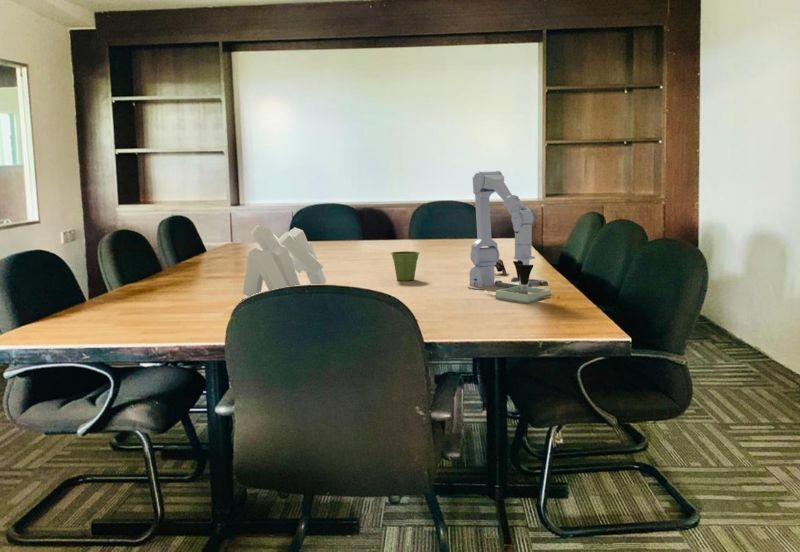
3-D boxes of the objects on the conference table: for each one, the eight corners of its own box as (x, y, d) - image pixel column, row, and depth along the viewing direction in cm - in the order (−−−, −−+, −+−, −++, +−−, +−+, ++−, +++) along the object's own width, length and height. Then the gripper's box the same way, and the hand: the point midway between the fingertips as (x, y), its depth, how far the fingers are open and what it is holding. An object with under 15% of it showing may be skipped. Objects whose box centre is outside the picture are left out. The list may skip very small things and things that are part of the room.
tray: (527, 303, 250) (527, 295, 250) (495, 299, 260) (495, 290, 259) (550, 298, 259) (551, 289, 259) (519, 293, 269) (519, 285, 269)
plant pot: (424, 280, 303) (424, 253, 301) (397, 282, 298) (397, 255, 297) (413, 276, 314) (413, 250, 312) (387, 278, 309) (386, 252, 308)
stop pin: (524, 297, 259) (525, 278, 256) (516, 295, 261) (517, 276, 259) (529, 294, 261) (530, 275, 259) (521, 292, 263) (522, 273, 261)
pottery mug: (504, 278, 309) (494, 261, 308) (486, 286, 314) (476, 270, 313) (513, 267, 319) (503, 250, 318) (495, 275, 324) (485, 259, 323)
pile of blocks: (280, 299, 297) (235, 224, 285) (345, 271, 288) (301, 193, 277) (255, 342, 265) (203, 260, 254) (328, 313, 257) (277, 227, 245)
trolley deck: (524, 293, 269) (524, 285, 268) (491, 289, 280) (491, 281, 279) (548, 288, 279) (548, 280, 279) (516, 284, 290) (516, 276, 289)
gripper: (538, 246, 251) (537, 285, 253) (531, 241, 265) (531, 279, 267) (517, 246, 251) (516, 286, 253) (511, 242, 265) (511, 279, 267)
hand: (522, 282), depth 260 cm, fingers open, 7 cm apart
